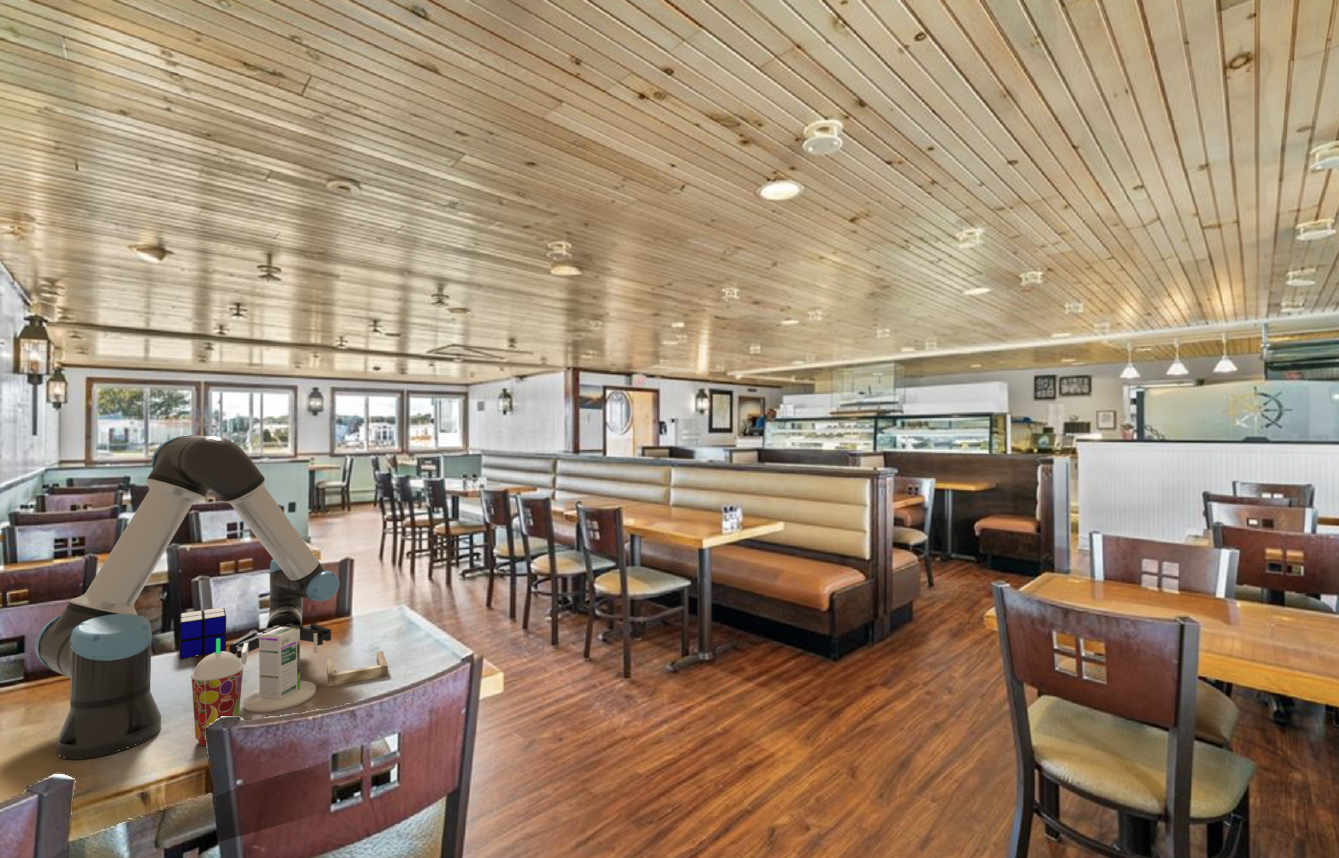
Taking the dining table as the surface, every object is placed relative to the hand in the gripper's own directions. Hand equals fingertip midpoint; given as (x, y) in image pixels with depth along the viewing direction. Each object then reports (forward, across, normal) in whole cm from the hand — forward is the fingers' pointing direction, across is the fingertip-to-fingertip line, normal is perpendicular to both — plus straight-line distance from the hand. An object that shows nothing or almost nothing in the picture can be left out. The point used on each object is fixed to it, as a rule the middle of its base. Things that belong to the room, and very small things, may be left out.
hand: (280, 652), depth 134 cm
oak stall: (-11, -16, -12) cm, 23 cm away
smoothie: (+12, +10, -12) cm, 19 cm away
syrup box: (-3, 0, -11) cm, 11 cm away
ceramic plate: (-3, 0, -12) cm, 12 cm away
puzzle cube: (-48, +20, -12) cm, 54 cm away
